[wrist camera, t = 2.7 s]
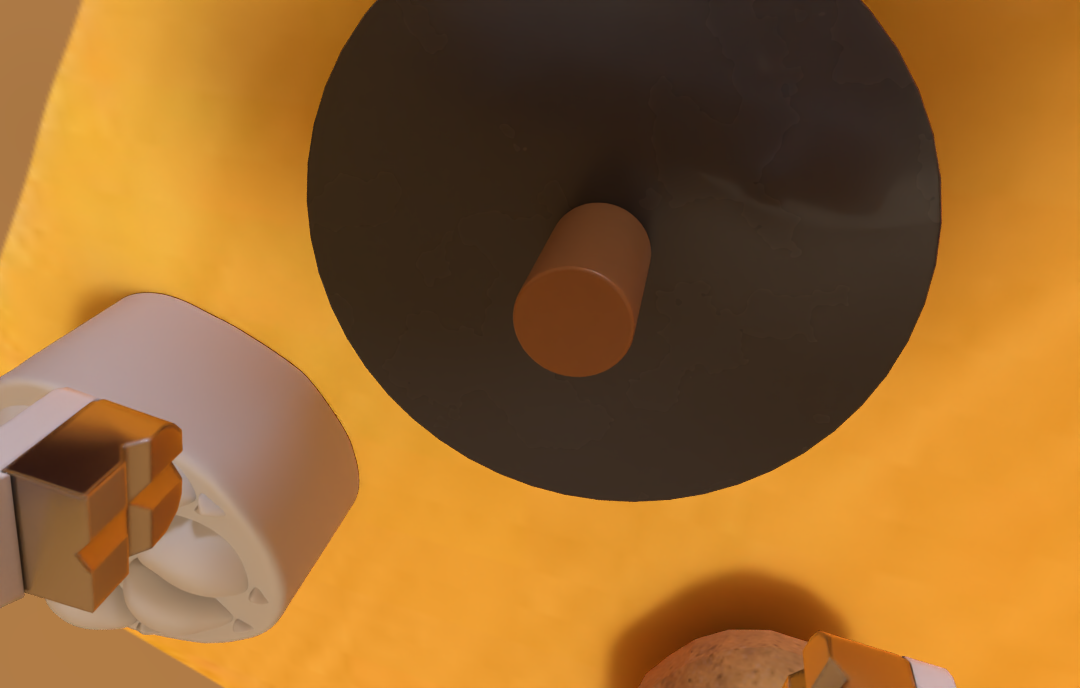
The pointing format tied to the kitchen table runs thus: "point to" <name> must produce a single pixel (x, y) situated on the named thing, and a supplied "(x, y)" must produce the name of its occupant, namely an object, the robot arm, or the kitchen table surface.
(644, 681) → the potato
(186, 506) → the lumpy-topped squat cylinder
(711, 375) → the pot lid
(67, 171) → the kitchen table surface
